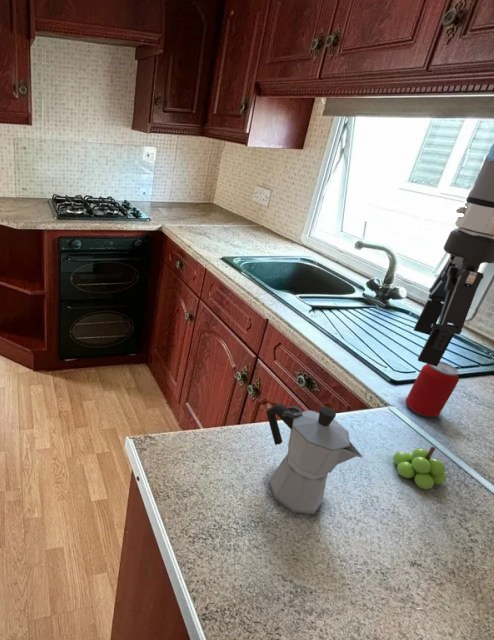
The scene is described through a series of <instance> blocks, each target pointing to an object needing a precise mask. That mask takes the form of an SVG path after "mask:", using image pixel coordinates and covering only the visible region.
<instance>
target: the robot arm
mask: <svg viewBox="0 0 494 640" xmlns="http://www.w3.org/2000/svg"><path fill="white" fill-rule="evenodd" d="M463 204H464V206H459V207H457V208H456V210H455V211H456V213H457V214H459V215H458V217H457V218H456V221H455V223H454V225H455V226H456V228H453V229H451V230H450V232H449V234H448V237H447V238H446V242H445V244H444V245H443V250H444V252H446V253H447V254H448V255H449V257H448V259H447V261H446V262H445V265H444V266H443V267H442V269H441V271H440V272H439V274H438V276H437V277H436V279H435V280H434V282H433V284H432V286H431V287H430V288H429V290H428V293H429V294H428V299H427V300H426V303H425V304H424V306H423V309H422V311H421V313H420V315H419V317H418V319H417V321H416V323H415V325H414V328H413V332H417V333H421V334H424V335H428V337H427V339H426V342H425V344H424V346H423V348H422V349H421V351H420V353H419V355H418V357H417V361H418V362H420V363H424V364H430V365H433V366H436V367H437V366H438V364H439V362H440V361H441V360H442V358H443V356H444V354H445V353H446V350H447V349H448V347H449V345H450V343H451V341H452V340H453V337H454V336H455V335H458V336H459V335H461V333H462V331H463V328H464V324H465V322H466V319H467V317H468V314H469V311H470V309H471V306H472V304H473V301H474V298H475V296H476V293H477V290H478V288H479V286H480V284H481V281H482V280H483V279H484V273H483V272H480V271H479V269H480V266H481V264H484V263H485V264H494V141H493V142H492V144H491V146H490V148H489V149H488V151H487V152H486V154H485V155H484V157H483V162H482V164H481V166H480V169H479V171H478V173H477V176H476V178H475V180H474V182H473V184H472V186H471V188H470V191H469V192H468V194H467V197H466V199H465V202H464V203H463Z"/></svg>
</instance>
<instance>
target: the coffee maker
mask: <svg viewBox="0 0 494 640" xmlns="http://www.w3.org/2000/svg"><path fill="white" fill-rule="evenodd" d="M276 415H277V416H278V417H279V419H280V420H281V421H282V422H283V423H284V424H286V426H287V427H288V428H289V429H290V434H289V438H288V443H287V454H286V455H285V456H284V457H283V459H282V460H281V462H280V463H279V465H278V466H277V468H276V470H275V471H274V473H273V474H272V476H271V477H270V479H269V480H268V482H267V483H268V485H269V488H270V491H271V494H272V496H273V499H274V500H275V501H277V502H278V503H279V504H281V505H282V506H283V507H285V508H286V509H288V511H290V512H291V513H292V514H293V513H295V514H304V515H314V514H315V513H316V512H317V511H318V509H319V508H320V507H321V505H322V504H323V499H324V494H325V488H326V484H327V478H328V476H329V475H328V474H329V473H332V471H334V469H335V468H336V467H337V466H338V465H340V464H342V463H345V462H347V461H349V460H352V459H354V458H356V457H357V458H361V459H362V458H363V455H362V454H361V453H360V452H359V450H358V449H357V447H355V445H354V444H353V443H352V442H351V440H350V432H349V430H347V429H346V428H345V427H344V426H343V425H342V424H340V423H339V422H338V421H337V420H336V419H335V418H336V417H337V413H336V411H335V410H334V409H332V408H330V407H328V406H321V407H319V412H317V411H314V410H311V409H308V410H305V411H302V408H300V407H299V406H296V405H291V406H289V407H287V406H285V405H283V404H280V403H275V404H274V405H273V406H271V407H270V408H268V409H267V410H266V416H267V420H268V425H269V427H270V432H271V435H272V440H273V443H274V445H275V446H277V445H281V444H282V443H283V439H282V438H283V437H282V435H281V430H280V428H279V423H278V420H277V416H276Z"/></svg>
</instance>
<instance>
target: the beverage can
mask: <svg viewBox="0 0 494 640" xmlns="http://www.w3.org/2000/svg"><path fill="white" fill-rule="evenodd" d="M459 381H460V377H459V370H458V369H457V368H456V367H455V366H453V365H451V364H449V363H447V362H444V361H441V360H440V362H439V364H438V366H437V367H436V366H433V365H430V364H427V363H425V364H424V365H423V366H422V368H421V370H420V371H419V373H418V375H417V377H416V378H415V381H414V383H413V385H412V387H411V389H410V391H409V393H408V395H406V398H405V404H406V405H407V406H408V407H409V409H410V410H411V411H413V412H414V413H416V414H418V415H420V416H422V417H428V418H436V417H438V416H440V414H441V413H442V411H443V409H444V407H445V406H446V404H447V403H448V401H449V399H450V397H451V395H452V393H453V392H454V390H455V388H456V387H457V385H458V383H459Z"/></svg>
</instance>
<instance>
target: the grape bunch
mask: <svg viewBox="0 0 494 640" xmlns="http://www.w3.org/2000/svg"><path fill="white" fill-rule="evenodd" d="M435 450H436V447H435V446H431V447H430V449H429V450H428V451H427V449H425V448H419V447H418V448H415V449H413V451H411V452H409V451H408V452H403V451H397V452H395V454H394V455H393V457H392V460H393V463H394V464H395V465H396V470H397V472H398V474H399V475H400V476H401V477H403V478H406V479H411V478H413V480H414V483H415V485H416V486H417V487H418V488H420V489H422V490H430V489H432V488H433V486H434V485H443V484H444V483H445V482H446V481H447V475H446V473H445V472H446V465H445V464H444V463H443V461H441V460H440V459H437V458H432V456H433V454H434V452H435Z"/></svg>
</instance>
